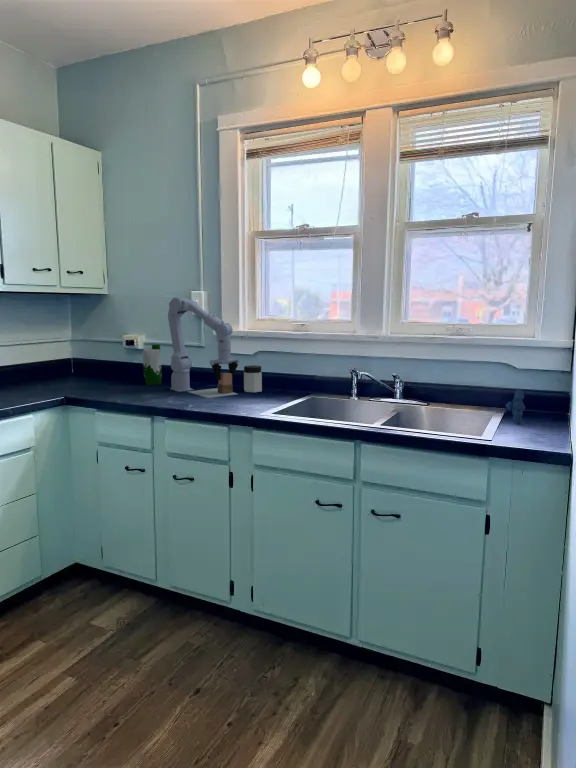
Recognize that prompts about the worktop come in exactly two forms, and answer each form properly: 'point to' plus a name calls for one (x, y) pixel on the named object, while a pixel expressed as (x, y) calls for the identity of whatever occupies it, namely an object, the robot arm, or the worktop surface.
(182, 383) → the robot arm
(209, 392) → the mat
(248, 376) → the jar
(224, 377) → the terracotta block
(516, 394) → the grapes
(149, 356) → the milk carton
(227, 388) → the walnut block
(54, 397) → the worktop surface
